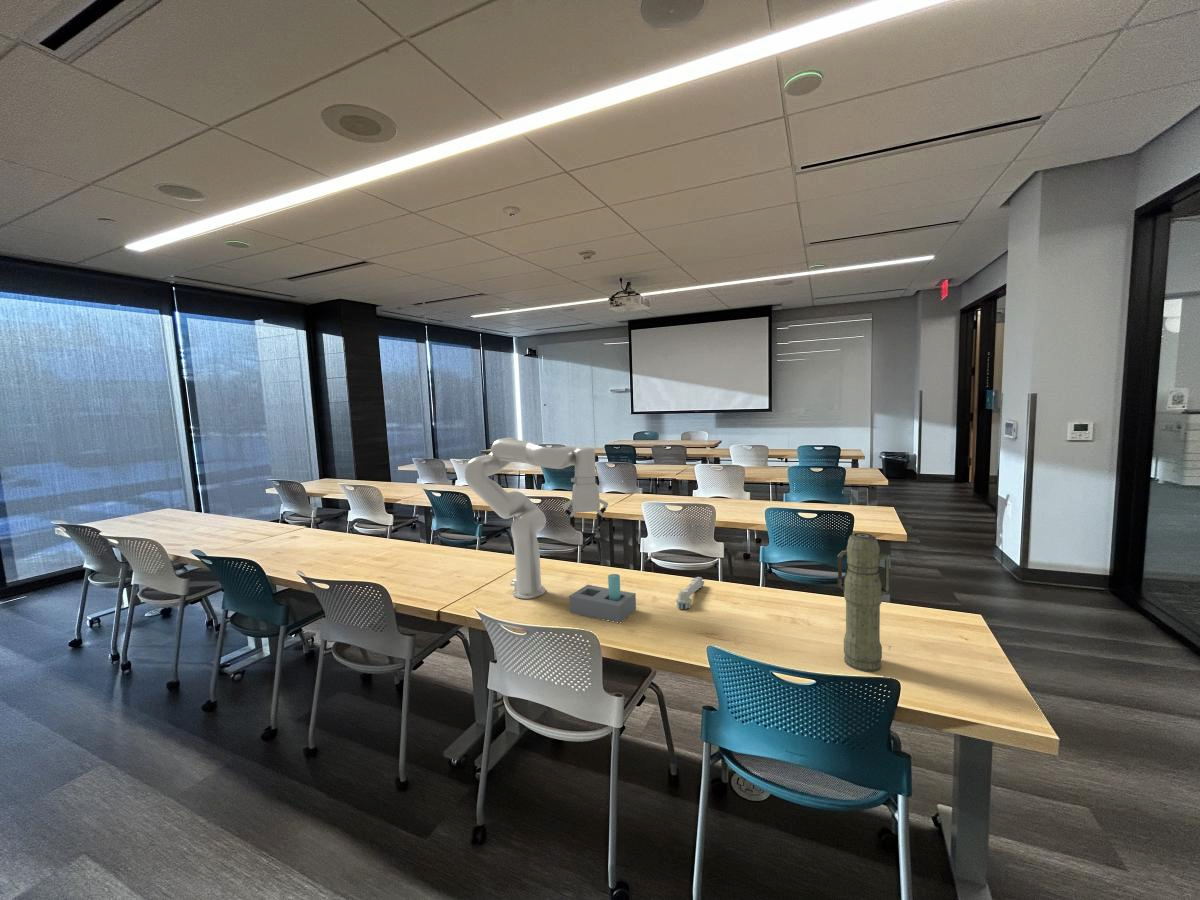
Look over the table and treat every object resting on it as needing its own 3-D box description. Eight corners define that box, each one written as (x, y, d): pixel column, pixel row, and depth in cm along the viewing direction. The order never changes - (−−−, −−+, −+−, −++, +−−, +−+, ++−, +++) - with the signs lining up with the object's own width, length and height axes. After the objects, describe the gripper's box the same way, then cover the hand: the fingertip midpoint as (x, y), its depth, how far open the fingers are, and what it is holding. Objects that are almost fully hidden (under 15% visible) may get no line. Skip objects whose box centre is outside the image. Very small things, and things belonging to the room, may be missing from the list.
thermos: (836, 651, 135) (836, 529, 132) (884, 658, 131) (885, 532, 128) (838, 667, 127) (838, 538, 124) (890, 675, 123) (891, 541, 120)
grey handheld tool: (706, 576, 188) (688, 590, 166) (705, 594, 188) (688, 610, 166) (693, 575, 191) (673, 588, 168) (692, 592, 190) (673, 608, 168)
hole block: (569, 612, 169) (569, 595, 169) (588, 600, 179) (587, 584, 179) (619, 623, 159) (618, 606, 158) (636, 610, 169) (635, 593, 168)
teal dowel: (607, 610, 166) (605, 576, 165) (613, 606, 169) (611, 573, 168) (617, 612, 164) (616, 578, 163) (623, 608, 167) (621, 574, 166)
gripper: (563, 483, 173) (564, 529, 175) (610, 481, 177) (610, 527, 178) (560, 480, 181) (561, 525, 182) (605, 478, 184) (606, 522, 186)
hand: (585, 525), depth 180 cm, fingers open, 9 cm apart
